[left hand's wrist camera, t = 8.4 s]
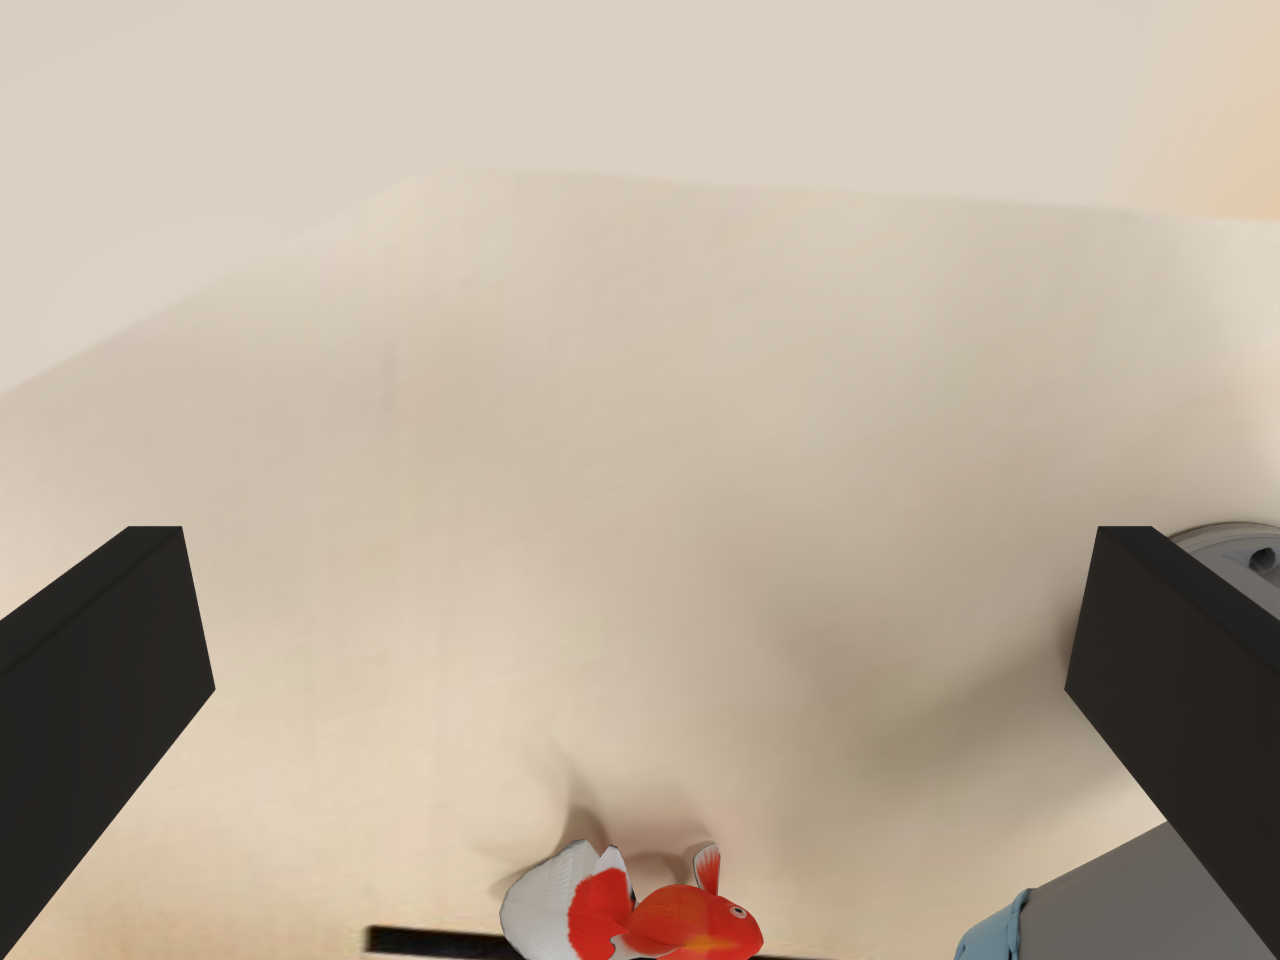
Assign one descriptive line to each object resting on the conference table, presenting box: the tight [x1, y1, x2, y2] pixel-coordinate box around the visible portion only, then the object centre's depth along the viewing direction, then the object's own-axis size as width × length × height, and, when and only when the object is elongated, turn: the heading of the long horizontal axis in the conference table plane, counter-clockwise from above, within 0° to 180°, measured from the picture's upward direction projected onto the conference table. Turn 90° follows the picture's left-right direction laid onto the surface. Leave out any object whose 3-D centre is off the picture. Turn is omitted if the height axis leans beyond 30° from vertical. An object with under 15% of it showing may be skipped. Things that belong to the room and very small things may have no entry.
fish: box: [499, 839, 764, 960], centre depth 52 cm, size 11×16×10 cm
